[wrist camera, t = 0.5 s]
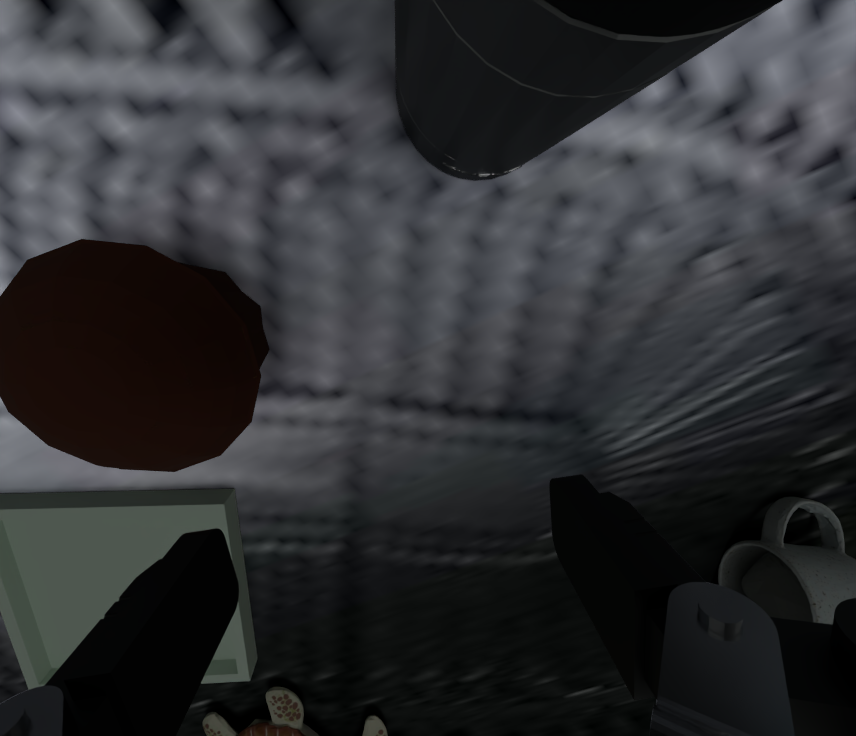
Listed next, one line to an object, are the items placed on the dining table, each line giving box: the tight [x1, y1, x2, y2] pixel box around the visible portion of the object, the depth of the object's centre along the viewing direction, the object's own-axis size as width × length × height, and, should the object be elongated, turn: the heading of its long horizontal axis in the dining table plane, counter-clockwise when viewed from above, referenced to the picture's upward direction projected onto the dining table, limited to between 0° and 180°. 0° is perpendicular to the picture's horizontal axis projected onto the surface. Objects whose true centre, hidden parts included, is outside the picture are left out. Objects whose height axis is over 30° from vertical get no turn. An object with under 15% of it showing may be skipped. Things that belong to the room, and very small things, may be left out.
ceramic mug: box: [718, 497, 856, 624], centre depth 30 cm, size 11×8×8 cm
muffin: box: [0, 239, 269, 472], centre depth 21 cm, size 12×11×10 cm
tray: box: [0, 489, 257, 690], centre depth 30 cm, size 16×16×2 cm
